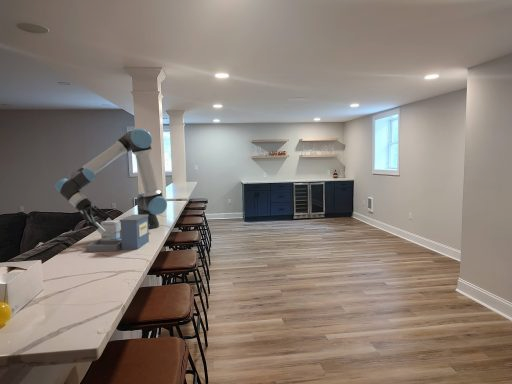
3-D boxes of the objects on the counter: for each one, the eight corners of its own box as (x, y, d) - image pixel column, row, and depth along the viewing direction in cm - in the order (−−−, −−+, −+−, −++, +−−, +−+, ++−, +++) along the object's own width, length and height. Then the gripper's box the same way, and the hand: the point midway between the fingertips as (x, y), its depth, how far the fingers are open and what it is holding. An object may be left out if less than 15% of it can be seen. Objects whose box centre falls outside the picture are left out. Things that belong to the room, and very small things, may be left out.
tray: (98, 245, 167) (97, 240, 166) (125, 245, 166) (125, 239, 166) (87, 251, 156) (86, 245, 156) (116, 251, 156) (116, 245, 155)
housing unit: (134, 241, 175) (132, 214, 174) (149, 241, 175) (148, 214, 174) (121, 249, 159) (119, 219, 157) (138, 249, 159) (137, 219, 157)
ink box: (121, 241, 175) (120, 220, 174) (116, 243, 170) (115, 222, 169) (106, 241, 176) (105, 220, 175) (101, 243, 171) (99, 222, 170)
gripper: (71, 200, 159) (102, 229, 160) (97, 195, 184) (124, 220, 185) (61, 210, 159) (92, 240, 160) (88, 204, 184) (115, 229, 185)
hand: (109, 229), depth 172 cm, fingers open, 13 cm apart
